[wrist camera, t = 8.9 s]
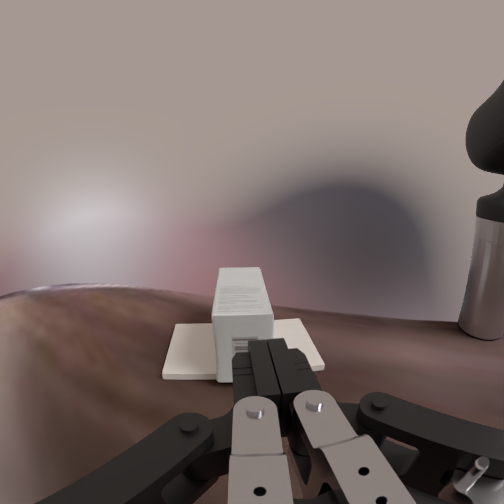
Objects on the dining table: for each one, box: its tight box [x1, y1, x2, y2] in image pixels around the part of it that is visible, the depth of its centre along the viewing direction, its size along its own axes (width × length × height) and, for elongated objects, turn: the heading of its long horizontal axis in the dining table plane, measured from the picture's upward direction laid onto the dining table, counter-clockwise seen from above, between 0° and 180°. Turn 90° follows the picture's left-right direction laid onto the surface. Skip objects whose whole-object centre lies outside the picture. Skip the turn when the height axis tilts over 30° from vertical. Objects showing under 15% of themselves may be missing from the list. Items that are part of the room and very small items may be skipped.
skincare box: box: [212, 267, 274, 383], centre depth 33 cm, size 8×6×15 cm
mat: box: [162, 318, 325, 380], centre depth 35 cm, size 18×12×1 cm, turn 96°
